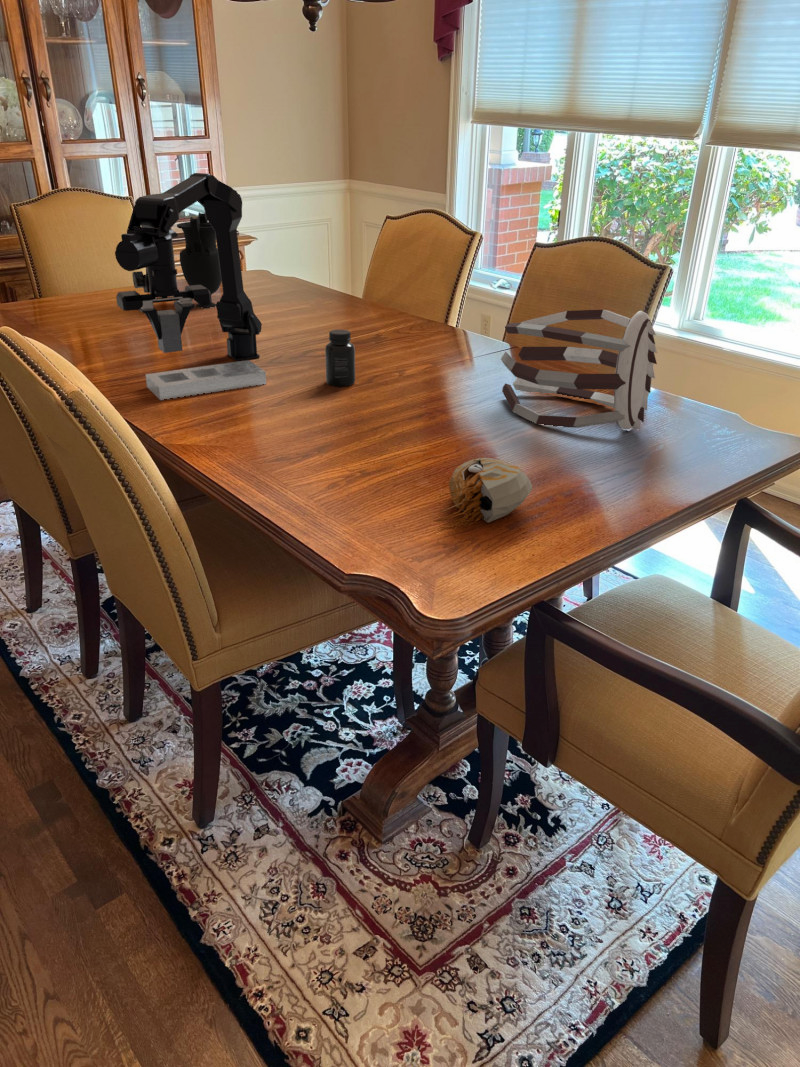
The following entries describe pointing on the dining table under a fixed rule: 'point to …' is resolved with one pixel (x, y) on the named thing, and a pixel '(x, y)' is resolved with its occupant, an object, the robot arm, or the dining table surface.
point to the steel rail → (205, 379)
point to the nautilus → (486, 490)
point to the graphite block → (169, 331)
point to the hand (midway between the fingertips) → (169, 337)
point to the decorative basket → (629, 363)
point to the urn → (200, 255)
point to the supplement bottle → (340, 359)
